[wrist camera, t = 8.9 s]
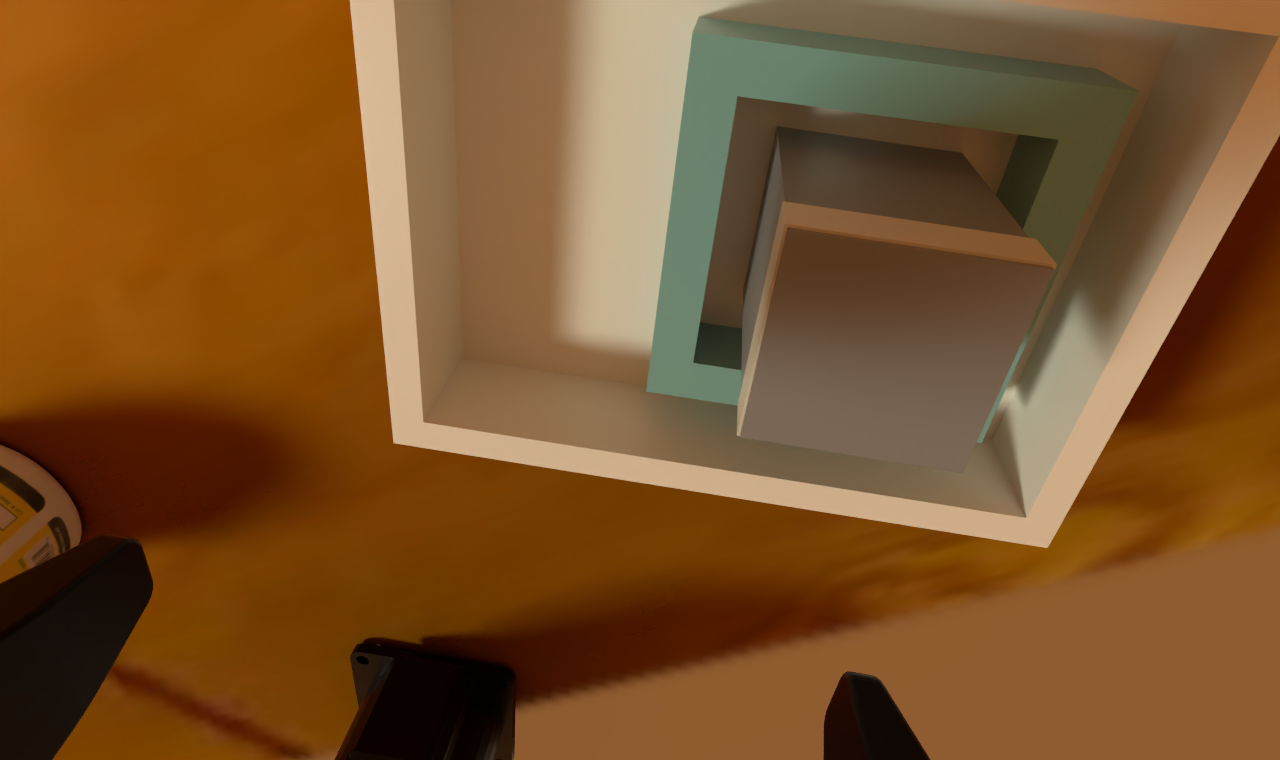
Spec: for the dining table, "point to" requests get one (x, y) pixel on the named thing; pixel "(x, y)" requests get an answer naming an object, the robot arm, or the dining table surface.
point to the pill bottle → (32, 515)
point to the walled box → (729, 208)
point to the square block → (881, 301)
